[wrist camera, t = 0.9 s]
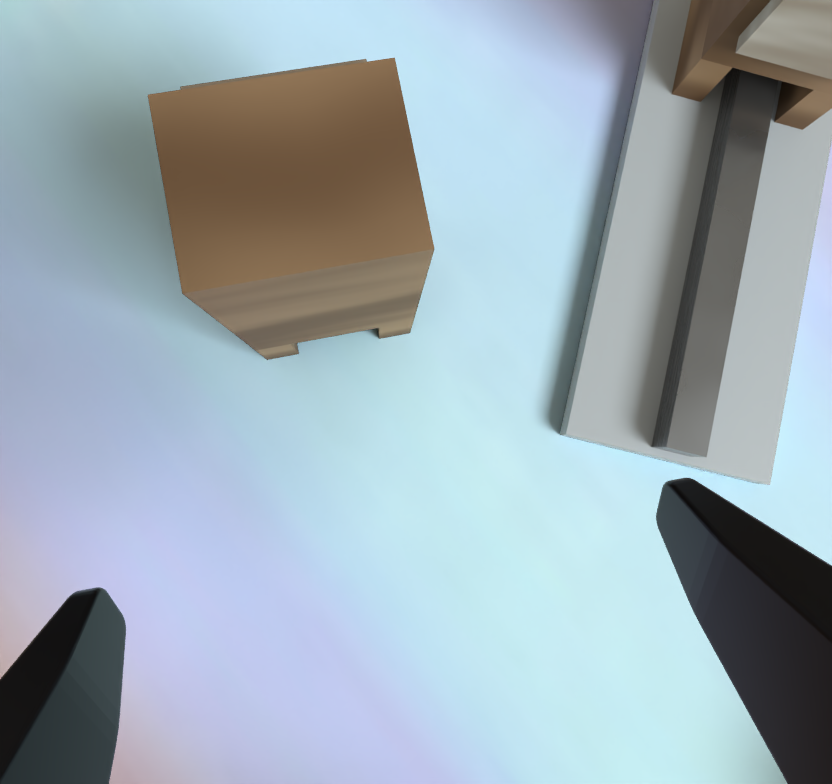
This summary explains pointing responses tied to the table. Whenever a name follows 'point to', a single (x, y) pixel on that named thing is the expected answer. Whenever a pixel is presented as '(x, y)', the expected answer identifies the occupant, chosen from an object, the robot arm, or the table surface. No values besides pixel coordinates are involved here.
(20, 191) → the table surface
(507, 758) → the table surface
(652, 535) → the table surface
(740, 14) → the fitted finger
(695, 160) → the base board
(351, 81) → the notched wooden block
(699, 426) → the rail
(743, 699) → the robot arm
